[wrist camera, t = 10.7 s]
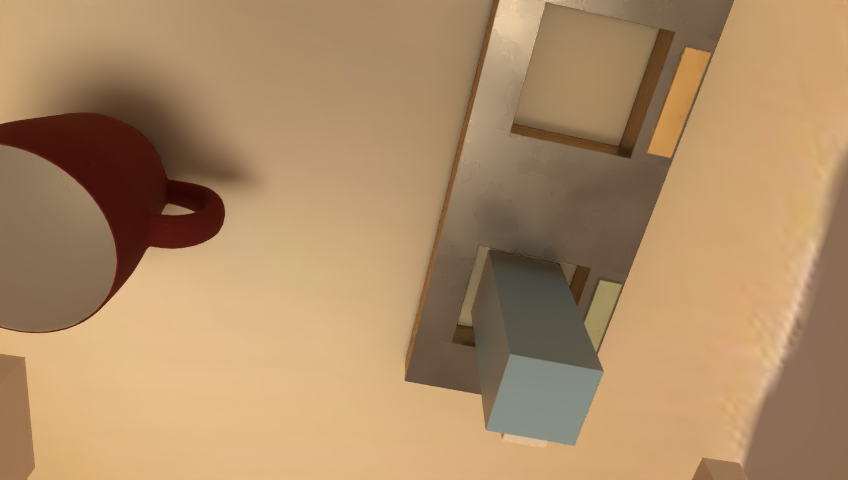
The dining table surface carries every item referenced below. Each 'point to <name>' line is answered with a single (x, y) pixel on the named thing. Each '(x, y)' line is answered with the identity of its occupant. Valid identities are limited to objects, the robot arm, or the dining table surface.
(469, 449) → the dining table surface
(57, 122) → the mug
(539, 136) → the panel
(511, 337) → the plug
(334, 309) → the dining table surface
